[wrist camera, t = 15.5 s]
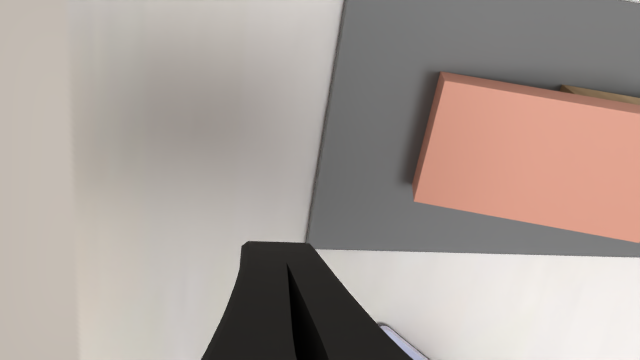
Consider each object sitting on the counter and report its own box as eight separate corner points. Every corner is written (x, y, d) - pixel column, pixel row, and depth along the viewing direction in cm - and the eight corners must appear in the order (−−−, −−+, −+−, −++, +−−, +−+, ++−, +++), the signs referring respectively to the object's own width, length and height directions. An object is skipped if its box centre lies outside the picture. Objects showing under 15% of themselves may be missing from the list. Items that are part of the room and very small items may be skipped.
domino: (413, 201, 20) (639, 243, 19) (445, 80, 18) (699, 124, 17) (412, 184, 21) (621, 222, 21) (440, 71, 19) (674, 111, 19)
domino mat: (305, 243, 22) (307, 248, 22) (351, -44, 17) (354, -43, 17) (778, 257, 28) (786, 261, 28) (919, 48, 23) (930, 50, 23)
